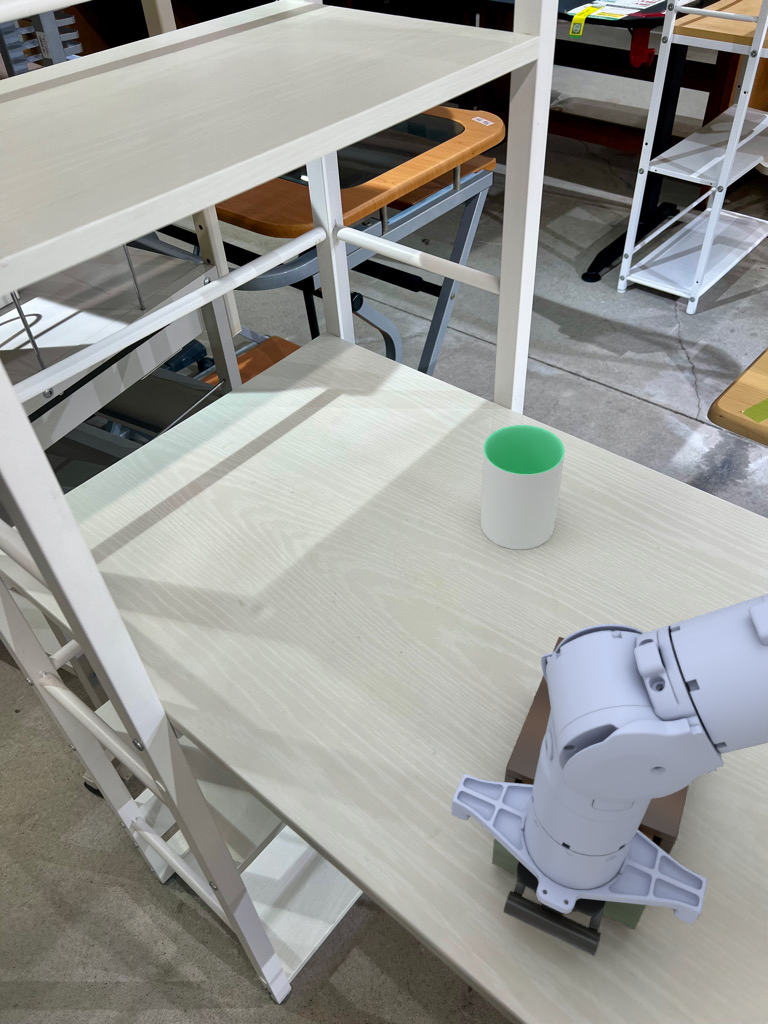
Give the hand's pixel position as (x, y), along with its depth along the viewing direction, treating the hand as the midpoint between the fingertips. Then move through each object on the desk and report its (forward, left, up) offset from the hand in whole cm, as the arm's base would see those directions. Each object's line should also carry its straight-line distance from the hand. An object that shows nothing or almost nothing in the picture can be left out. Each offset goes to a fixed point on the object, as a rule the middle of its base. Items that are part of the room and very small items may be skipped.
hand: (554, 897), depth 49 cm
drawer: (+2, -5, -4) cm, 7 cm away
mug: (+34, -26, -5) cm, 43 cm away
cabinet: (+6, -10, -5) cm, 12 cm away
